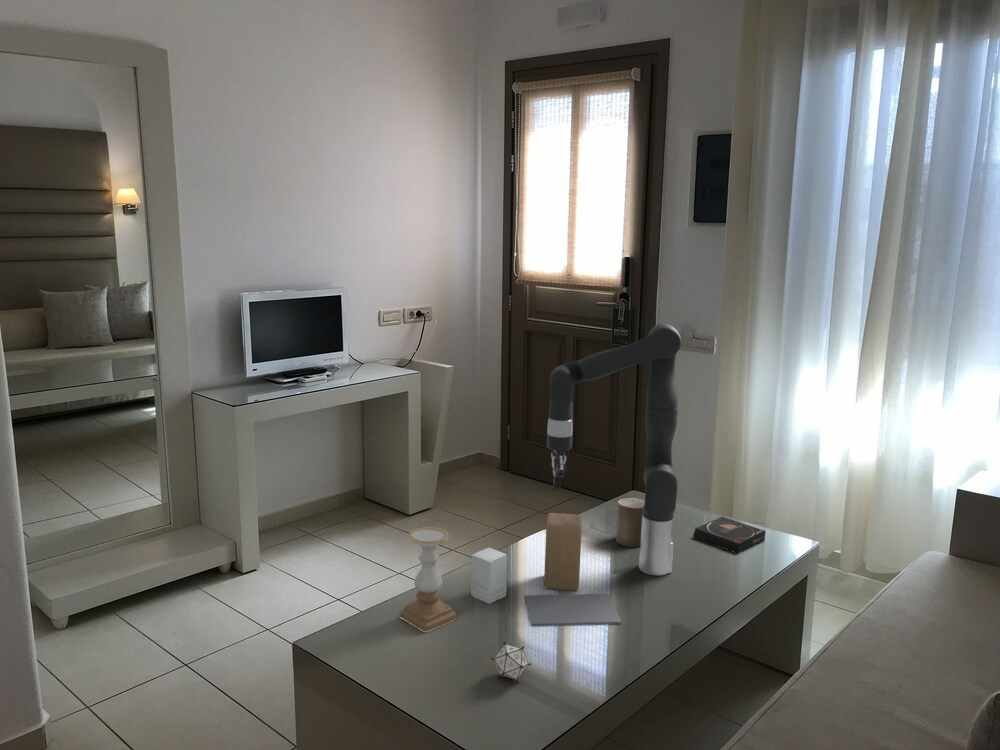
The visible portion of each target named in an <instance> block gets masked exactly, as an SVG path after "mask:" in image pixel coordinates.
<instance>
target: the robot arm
mask: <svg viewBox="0 0 1000 750" xmlns="http://www.w3.org/2000/svg"><path fill="white" fill-rule="evenodd" d="M681 347H682V338H681V335H680V334H679V332H678V330H677V329H676V328H675V327H674V326H673V325H671V324H668V323H665V322H663V323H658V324H656V325H654V326H653V327H652V328H651V329H650V331H648V335H647V336H645V337H644V338H641V339H640V340H638V341H636V342H633V343H629V344H627V345H623V346H619V347H615V348H610V349H607V350H603V351H599V352H597V353H594V354H592V355H588V356H585V357H584V358H582V359H580V360H573V361H571V362H566V363H564V364H560V365H559V366H556V367H554V369H553V370H552V371H551V374H550V378H549V399H550V400H549V404H548V405H549V406H548V420H547V430H546V431H547V432H546V433H547V434H546V436H547V437H546V447H547V449H549V450H550V451H553V452H551V453H550V454H551V468H552V475H553V488H554V489H556V490H557V489H558V490H561V489H562V487H563V486H562V484H563V483H562V482H563V481H562V480H563V478H564V476H565V473H566V470H567V464H566V461H567V455H566V454H565V453H566V451H569V450H571V449H572V446H573V429H574V428H573V427H574V425H573V415H574V413H573V412H574V410H573V409H574V406H573V405H574V404H573V396H574V395H573V394H574V386H575V385H576V384H579V383H582V382H585V381H586V382H591V381H595V380H597V379H600V378H603V377H606V376H609V375H611V374H613V373H614V374H615V373H616V372H619V371H622V370H625V369H627V368H629V367H633V366H635V365H639V364H644V363H646V362H649V372H648V373H649V375H648V383H647V387H646V389H647V390H646V400H645V401H646V403H645V431H646V432H645V433H646V456H645V464H644V469H643V470H644V471H643V481H644V482H643V483H644V485H645V490H644V491H645V495H644V501H645V503H644V506H643V512H642V528H641V543H640V547H639V560H638V569H639V571H641V572H642V573H644V574H647V575H651V576H664V575H667V574H672V571H673V557H674V542H673V541H672V539H673V529H674V528H673V526H674V514H675V511H676V505H677V496H678V495H677V494H678V479H677V476H676V474H675V472H674V470H673V462H672V461H673V459H672V455H673V454H672V447H673V441H674V437H675V434H676V431H677V425H678V415H679V414H678V412H679V411H678V410H679V400H678V388H677V380H676V372H675V371H676V370H675V369H676V368H675V367H676V358H677V353H678V352H679V351H680V350H681Z"/></svg>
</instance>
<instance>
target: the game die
mask: <svg viewBox="0 0 1000 750" xmlns="http://www.w3.org/2000/svg"><path fill="white" fill-rule="evenodd" d="M524 649H525V645H523V646H522V647H520V646H519V647H518V646H515V645H511V644H507V642H506V641H505V640H503V645H502V647H501V649H500V650H499V651H498V652H497V654H496V655H495V656H494V657H490V660H491V661H493V662H494V664H495V666H496V669H497V672H498V674H497V677H498V678H500V677H505V678H509V679H513V680H515V681H516V682H515V683H517V684H519V681H520V680H519V678H520V676H521V675H522V674H523V673H524V671H525V670H526V669H527V667H528V666H532V664H531V663H529V662H528V659H527V657H526V655H525V652H524Z"/></svg>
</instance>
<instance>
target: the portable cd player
mask: <svg viewBox="0 0 1000 750" xmlns="http://www.w3.org/2000/svg"><path fill="white" fill-rule="evenodd" d="M692 536H693V538H694V537H695V538H694V539H696V538H697V539H696V540H699V539H700V540H699V541H702V540H703V541H702V542H704V541H705V543H707V544H709V545H712V544H713V545H712V546H715V545H717V546H716V547H718V546H720V547H719V548H721V547H723V548H726V549H728V550H727V551H729V550H731V551H730V552H732V551H734V552H736V553H735V554H737V553H739V554H740V552H741V553H743V552H744V550H745V551H747V550H749V549H751V548H753V547H755V546H757V545H759V544H761V543H763V542H765V539H766V530H763V529H760V528H758V527H755V526H751V525H749V524H746V523H744V522H739V521H737V520H735V519H731V518H729V517H725V516H720V517H718V518H716V519H714V520H710V521H708V522H707V523H704V524H702V525H699V526H697V527H695V529H694V531H693V535H692ZM723 548H722V549H723ZM726 549H725V550H726ZM734 552H733V553H734Z"/></svg>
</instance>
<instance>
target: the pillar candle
mask: <svg viewBox="0 0 1000 750" xmlns="http://www.w3.org/2000/svg"><path fill="white" fill-rule="evenodd" d="M644 503H645V499H644V500H643V499H640V498H636V497H627V498H626V497H625V498H621V499H619V500H618V501H617V515H616V516H617V520H616V535H615V537H616V538H615V542H616V543H617V544H619V545H621V546H622V547H623V546H624V547H627V548H640V543H641V528H642V512H643V506H644Z"/></svg>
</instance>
